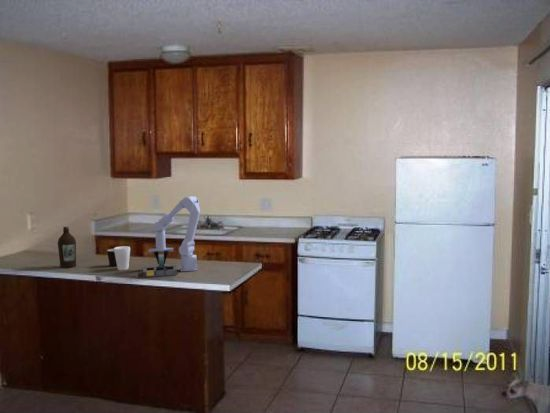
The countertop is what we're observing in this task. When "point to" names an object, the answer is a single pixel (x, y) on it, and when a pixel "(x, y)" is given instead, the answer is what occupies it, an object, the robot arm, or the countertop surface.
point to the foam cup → (122, 257)
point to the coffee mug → (112, 258)
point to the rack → (159, 271)
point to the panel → (161, 259)
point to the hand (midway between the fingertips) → (161, 263)
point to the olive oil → (67, 249)
